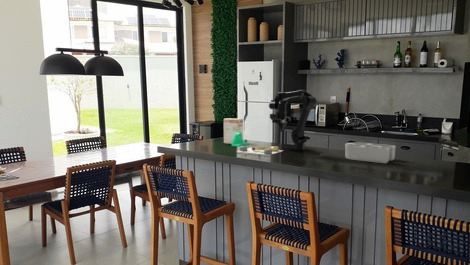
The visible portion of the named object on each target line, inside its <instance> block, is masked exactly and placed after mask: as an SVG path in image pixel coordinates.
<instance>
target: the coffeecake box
mask: <svg viewBox="0 0 470 265" xmlns="http://www.w3.org/2000/svg"><path fill="white" fill-rule="evenodd" d="M236 133H241V134H242V140H243V141H244V119H243V118H233V117H232V118H230V117H228V118H223V143H224V144H228V145H232V141H233V139H234V136H235V134H236Z"/></svg>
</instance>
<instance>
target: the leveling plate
mask: <svg viewBox="0 0 470 265" xmlns="http://www.w3.org/2000/svg"><path fill="white" fill-rule="evenodd" d="M281 152H283V149H282V150H280V149H279V151H272V149H264V150H255V151H253V150H252V147H248V146H247V145H244V146H240V147H239V150H236V152H235V154H236V155H237V154H238V155H242V153H244V155H246V156H247V155H249V156H252V154H253V156H255V157H261V155H263V157H264V158H270V156H271V155H274V154H277V153H281ZM267 155H268V156H267Z"/></svg>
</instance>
